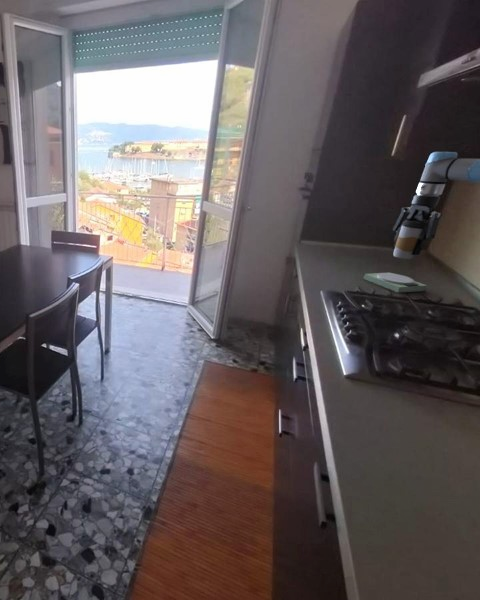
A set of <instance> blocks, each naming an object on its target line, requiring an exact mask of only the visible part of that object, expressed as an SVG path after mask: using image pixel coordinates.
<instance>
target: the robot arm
mask: <svg viewBox="0 0 480 600" xmlns="http://www.w3.org/2000/svg"><path fill="white" fill-rule="evenodd" d="M424 166H425V167H424V168H423V170H422V171H423V172H422V174H421V177H420V180H419V183H418V185H417V188H416V190H415V195H413V198H412V200H411V206H410V207H409V206H405V207H404V206H403V207H402V208H401V211H400V214H399V217H398V218H397V219H396V222H395V224H394V226H393V228H392V232H395V235H394V239H393V240H394V243H393V247H392V250H394V249H395V245H396V242H397V239H398V236H399V233H400V230H401V227H402V223H403V222H404V221H405V219H408V220H416V219H418V220H419V222H421V223H428V224H427V226H428V227H423V229H422V231H421V238H419V239H418V240H417V242H416V245H415V247H414V250H413V252H412V255H414V256H419V255H420V254H421V251H422V249H423V248H425V246H426V244H427V242H428V240H434V239H435V237H436V235H437V234H436V233H437V229H438V225H439V221H440V220H441V219H440V218H441V217H442V216H443V213H442V212H437V211H436V210H435V209H436V207H437V206H438V204H439V201H440V199H441V197H440V196H441V195H443V191H444V190H445V187H446V184H447V183H448V182H447V181H459V182H467V183H469V182H470V183H480V158H461V157H458V152H457V151H454V152H453V151H434V152H432V153H430V155H429V156H428V159H427V161H426V163H425V164H424ZM423 226H426V225H423Z"/></svg>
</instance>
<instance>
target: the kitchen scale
mask: <svg viewBox="0 0 480 600" xmlns="http://www.w3.org/2000/svg"><path fill="white" fill-rule="evenodd" d="M363 280H365V281H367V282H370V283H372V284H375V285H378V286H380V287H383V288H385V289H386V290H387V289H388V290H390V291H392V292H395V293H397V294H399V293H412V292H425V291H426V289H427V287H428V285H427V284H424V283H421V282H418V281H416V280H414V279H413V278H412V277H409V276H406V275H402V274H399V273H393V272H391V271H389V272H374V273H365V274H364V276H363Z"/></svg>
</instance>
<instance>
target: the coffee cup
mask: <svg viewBox="0 0 480 600" xmlns="http://www.w3.org/2000/svg"><path fill="white" fill-rule="evenodd" d="M427 224H428V223H421V222H419V219H416V220H408V219H407V218H406V219H405V221H404V222H403V223H402V227H401V230H400V233H399V236H398V239H397V242H396V245H395V249H393V253H392V255H393V257H395V258H398V259H402V260H411V259H413V258H414V256H415V255H412V252H413V250H414V247H415V245H416V242H417V240H418V239H419V238H421V231H422V229H423V227H428V226H427ZM423 225H426V226H423Z"/></svg>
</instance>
